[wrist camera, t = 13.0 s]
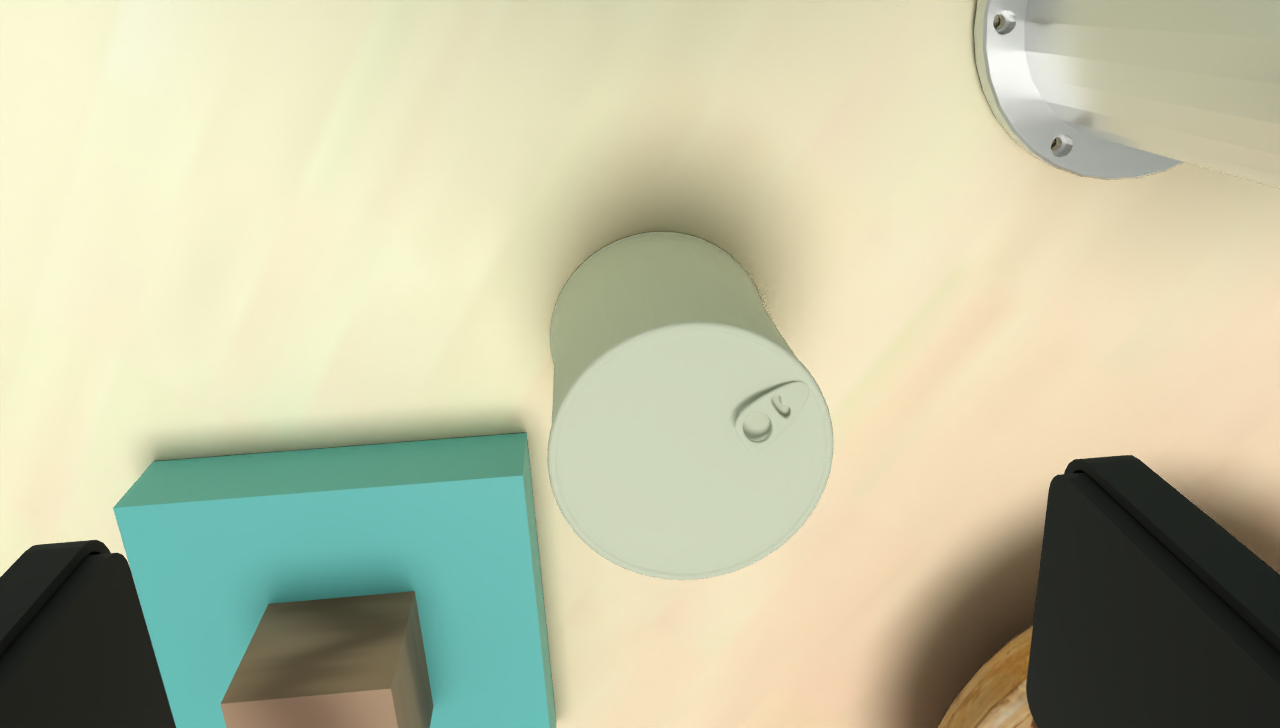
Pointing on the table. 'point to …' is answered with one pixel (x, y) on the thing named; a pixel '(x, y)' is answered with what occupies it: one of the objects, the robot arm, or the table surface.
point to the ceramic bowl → (996, 691)
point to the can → (680, 412)
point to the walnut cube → (334, 666)
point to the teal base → (348, 564)
